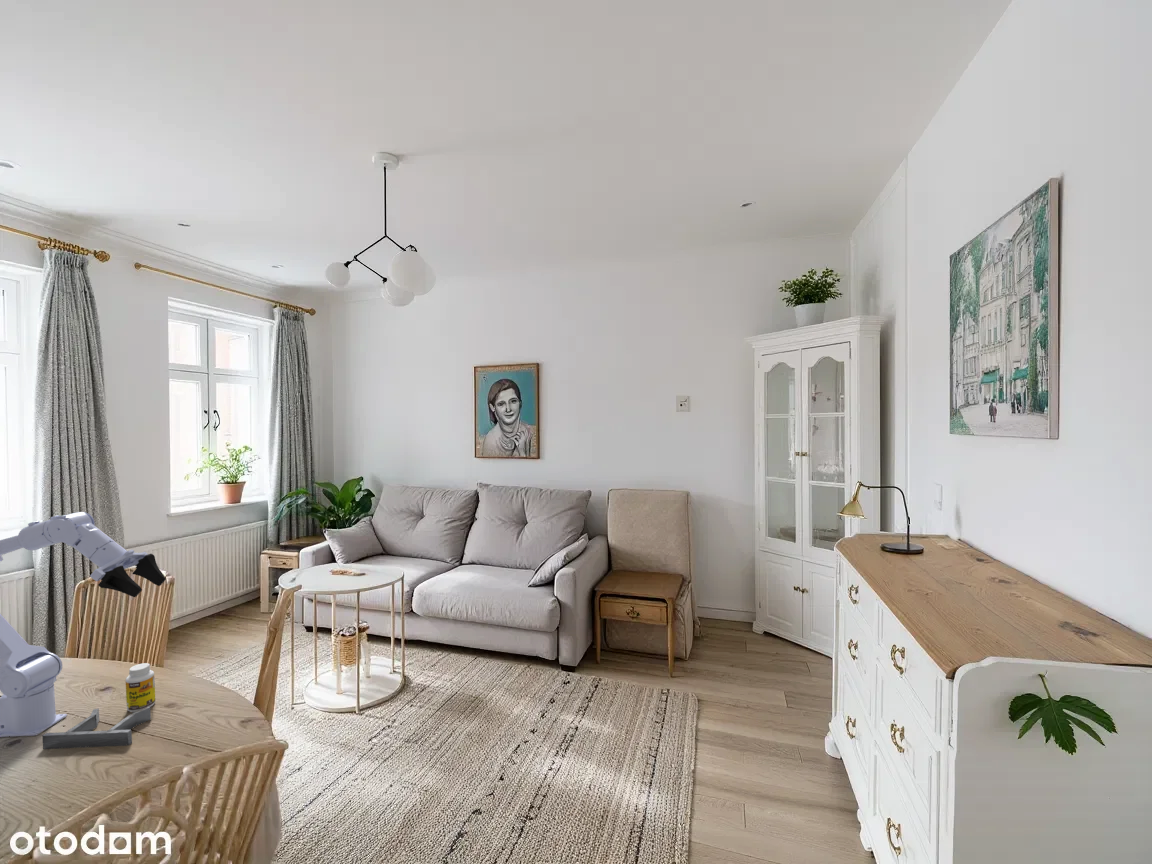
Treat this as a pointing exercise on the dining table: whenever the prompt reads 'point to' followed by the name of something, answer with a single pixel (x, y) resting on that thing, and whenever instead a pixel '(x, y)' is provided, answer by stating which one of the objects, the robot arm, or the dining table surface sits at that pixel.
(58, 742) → the stop cradle
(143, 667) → the supplement bottle
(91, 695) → the dining table surface
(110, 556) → the robot arm
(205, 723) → the dining table surface
